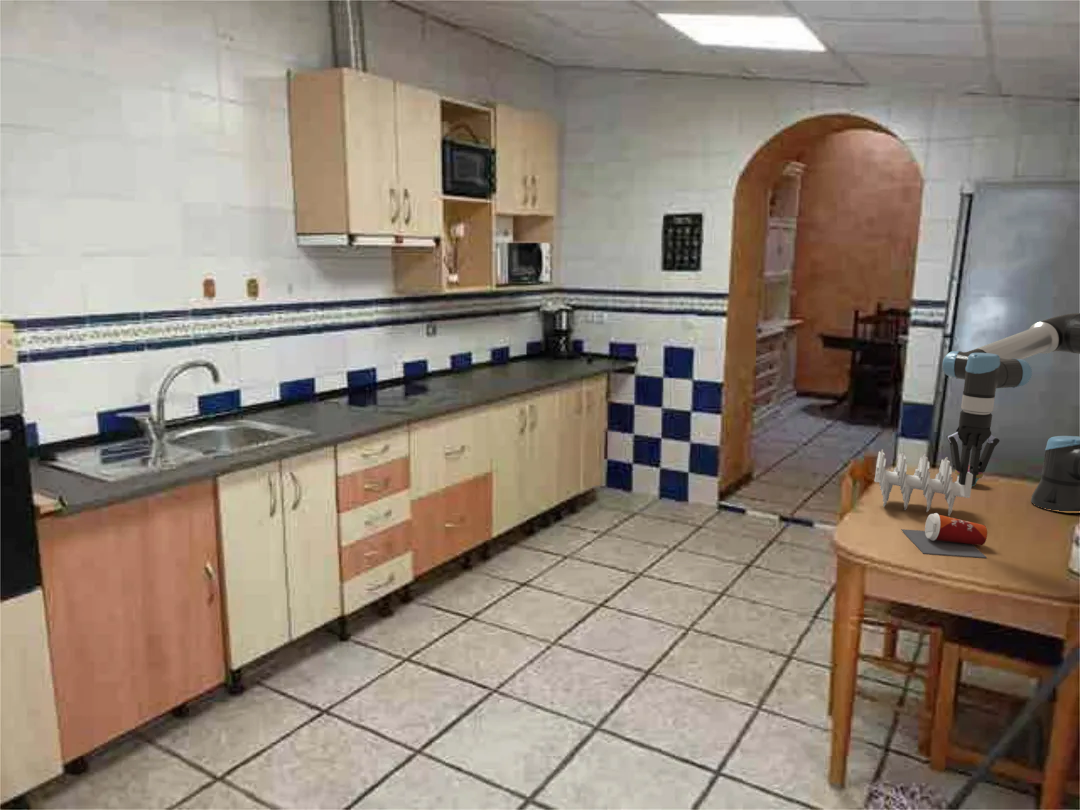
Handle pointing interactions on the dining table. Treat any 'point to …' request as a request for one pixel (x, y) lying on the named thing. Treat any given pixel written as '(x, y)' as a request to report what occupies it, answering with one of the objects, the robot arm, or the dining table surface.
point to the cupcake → (969, 471)
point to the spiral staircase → (917, 480)
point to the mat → (941, 546)
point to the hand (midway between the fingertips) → (965, 496)
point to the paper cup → (954, 530)
